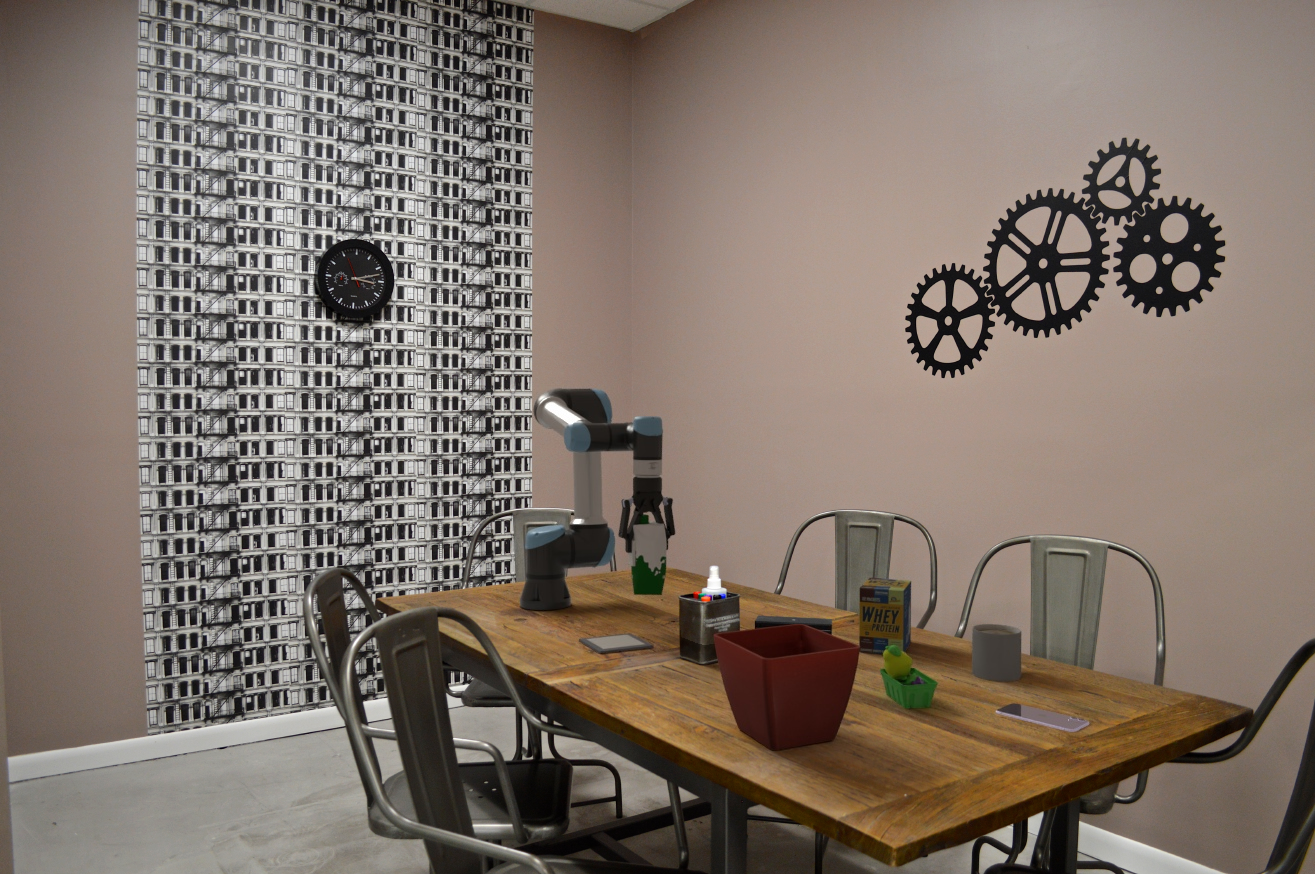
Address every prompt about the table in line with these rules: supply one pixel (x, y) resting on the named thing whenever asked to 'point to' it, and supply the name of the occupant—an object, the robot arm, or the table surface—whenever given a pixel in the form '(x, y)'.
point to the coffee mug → (996, 652)
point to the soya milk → (649, 557)
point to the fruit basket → (906, 680)
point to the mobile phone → (1043, 717)
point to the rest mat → (615, 643)
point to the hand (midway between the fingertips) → (646, 564)
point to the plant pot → (787, 682)
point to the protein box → (884, 615)
